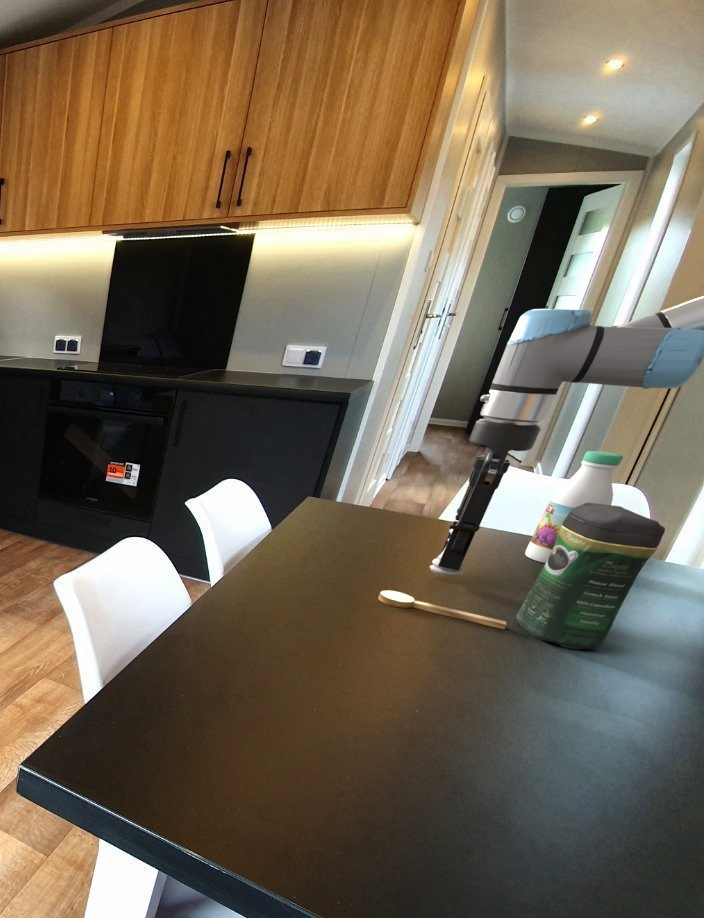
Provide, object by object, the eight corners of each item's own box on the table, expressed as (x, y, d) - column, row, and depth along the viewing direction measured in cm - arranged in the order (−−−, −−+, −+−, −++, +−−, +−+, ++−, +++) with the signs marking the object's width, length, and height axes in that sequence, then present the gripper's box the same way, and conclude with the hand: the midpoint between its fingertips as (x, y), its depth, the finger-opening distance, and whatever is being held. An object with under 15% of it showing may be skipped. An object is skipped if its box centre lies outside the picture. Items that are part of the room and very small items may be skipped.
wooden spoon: (503, 622, 93) (506, 616, 92) (505, 633, 90) (508, 627, 89) (379, 593, 101) (381, 587, 101) (377, 602, 98) (379, 596, 98)
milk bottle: (573, 559, 119) (628, 452, 110) (585, 571, 113) (644, 460, 104) (519, 550, 123) (569, 446, 114) (528, 562, 117) (581, 453, 108)
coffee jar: (610, 656, 84) (688, 523, 76) (536, 645, 87) (605, 514, 79) (571, 626, 92) (637, 503, 84) (504, 616, 95) (563, 495, 87)
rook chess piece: (462, 572, 107) (482, 527, 103) (460, 579, 104) (480, 533, 100) (430, 565, 109) (448, 521, 106) (426, 572, 106) (445, 526, 103)
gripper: (476, 411, 104) (423, 545, 114) (478, 424, 92) (418, 572, 102) (537, 417, 100) (476, 555, 110) (548, 431, 88) (478, 585, 97)
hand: (448, 563), depth 106 cm, fingers closed on rook chess piece, 4 cm apart
